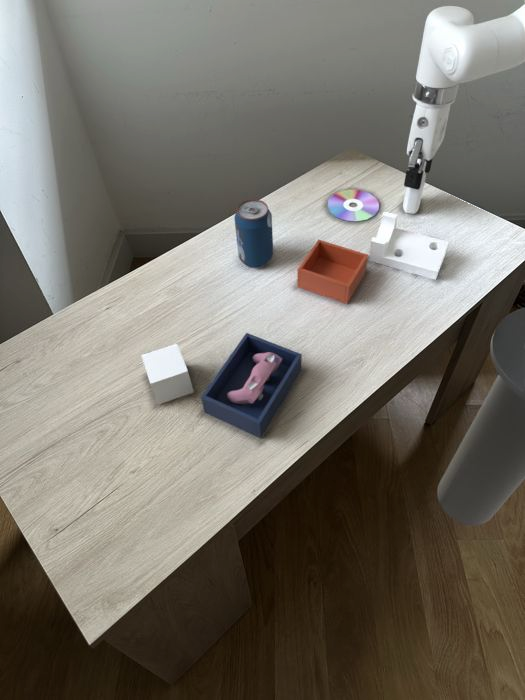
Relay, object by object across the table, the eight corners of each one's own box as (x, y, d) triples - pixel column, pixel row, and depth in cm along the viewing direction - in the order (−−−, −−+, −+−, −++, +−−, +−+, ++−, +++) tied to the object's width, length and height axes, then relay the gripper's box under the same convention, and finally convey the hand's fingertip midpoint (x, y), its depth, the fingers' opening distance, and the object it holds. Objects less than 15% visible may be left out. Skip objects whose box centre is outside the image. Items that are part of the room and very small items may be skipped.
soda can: (279, 252, 105) (278, 202, 95) (263, 274, 101) (260, 225, 92) (249, 243, 107) (244, 193, 97) (232, 264, 103) (226, 214, 94)
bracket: (369, 263, 103) (371, 241, 96) (381, 235, 105) (384, 211, 98) (435, 282, 99) (441, 259, 92) (446, 252, 101) (453, 228, 94)
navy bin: (301, 370, 86) (301, 354, 83) (261, 438, 79) (259, 423, 75) (248, 349, 90) (246, 332, 86) (204, 412, 82) (200, 397, 79)
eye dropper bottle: (426, 204, 112) (439, 153, 103) (412, 216, 109) (423, 165, 100) (409, 196, 114) (419, 145, 105) (394, 208, 111) (403, 157, 102)
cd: (385, 196, 114) (385, 195, 114) (370, 226, 108) (370, 226, 108) (337, 185, 117) (337, 185, 117) (319, 214, 111) (320, 214, 111)
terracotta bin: (365, 272, 100) (368, 254, 96) (347, 304, 95) (349, 286, 92) (317, 257, 103) (318, 239, 100) (297, 287, 98) (297, 269, 95)
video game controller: (245, 416, 83) (261, 402, 77) (222, 399, 82) (236, 384, 76) (274, 371, 88) (291, 355, 82) (253, 355, 87) (268, 338, 82)
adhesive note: (183, 365, 88) (177, 343, 84) (193, 392, 85) (188, 370, 80) (148, 376, 87) (140, 355, 82) (158, 404, 84) (150, 383, 79)
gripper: (442, 116, 86) (421, 206, 101) (469, 72, 96) (446, 161, 110) (399, 107, 89) (384, 197, 103) (429, 66, 98) (412, 153, 112)
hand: (416, 178), depth 106 cm, fingers closed on eye dropper bottle, 5 cm apart
